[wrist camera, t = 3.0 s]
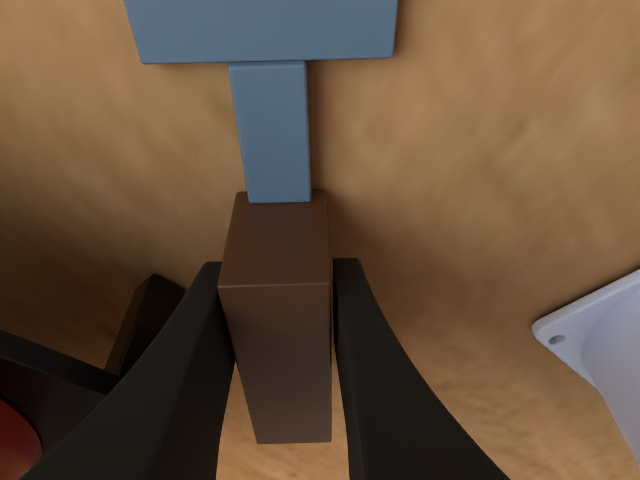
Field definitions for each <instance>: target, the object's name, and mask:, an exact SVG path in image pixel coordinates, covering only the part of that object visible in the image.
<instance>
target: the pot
mask: <svg viewBox="0 0 640 480" xmlns="http://www.w3.org/2000/svg"><path fill="white" fill-rule="evenodd" d="M184 293H185V290H184V289H183V288H181V287H179V286H177V285H175V284H173V283H172V282H170V281H168V280H166V279H164V278H162V277H160V276H158V275H156V274H152V275H151V276H150V277H149V278H148V279H147V280H146V281H144V282H143V283H142V284H141V285H140V286H139V287H138V288H137V289H136V290H135V291H134V294H133V297H132V299H131V302H130V304H129V307H128V309H127V312H126V314H125V317H124V320H123V322H122V325H121V327H120V330H119V332H118V335H117V338H116V340H115V343H114V345H113V348H112V350H111V353H110V356H109V358H108V361H107V363H106V366H105V368H104V370H103V369H101V368H98V367H95V366H93V365H90V364H88V363H85V362H83V361H80V360H78V359H75V358H72V357H70V356H67V355H65V354H62V353H60V352H57V351H54V350H52V349H49V348H47V347H44V346H42V345H39V344H36V343H34V342H31V341H29V340H26V339H24V338H21V337H18V336H16V335H13V334H11V333H8V332H6V331H3V330H1V329H0V480H18V479H19V478H21V477H22V476H23V475H24V474H25V473H26V472H28V471H29V470H30V469H31V468H32V467H33V466H34V465H35V464H37V463H38V462H39V461H40V460H41V459H42V458H43V457H44V456H45V455H47V454H48V453H49V452H50V451H51V450H52V449H53V448H54V447H55V446H56V445H58V444H59V443H60V442H61V441H62V440H63V439H64V438H65V437H66V436H67V435H69V434H70V433H71V432H72V431H73V430H74V429H75V428H76V427H77V426H78V425H79V424H80V423H81V422H82V421H83V420H84V419H85V418H86V417H87V416H88V415H89V414H90V413H91V412H92V411H93V410H94V409H95V408H96V407H97V405H98V404H99V403H100V402H101V401H102V400H103V399H104V398H105V397H106V396H107V395H108V394H109V393H110V392H111V391H112V390H113V388H114V387H115V386H116V385H117V384H118V383H119V382H120V381H121V380H122V378H123V377H124V376H125V375H126V374H127V373H128V371H129V370H130V369H131V368H132V367H133V365H134V364H135V363H136V362H137V361H138V359H139V358H140V357H141V355H142V354H143V353H144V352H145V350H146V349H147V348H148V346H149V345H150V344H151V342H152V341H153V340H154V339H155V337H156V336H157V335H158V333H159V332H160V331H161V329H162V328H163V326H164V325H165V324H166V322H167V321H168V319H169V318H170V316H171V315H172V313H173V312H174V311H175V309H176V308H177V306H178V305H179V303H180V302H181V300H182V299H183V297H184Z"/></svg>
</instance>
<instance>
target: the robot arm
mask: <svg viewBox="0 0 640 480" xmlns="http://www.w3.org/2000/svg"><path fill="white" fill-rule="evenodd" d="M221 265H222V262H206V263H205V264H204V265H203V266H202V268H201V269H200V271H199V273H198V274H197V276H196V278H195V279H194V281H193V283H192V284H191V286H190V288H189V289H188V291H187V292H186V294H185V295H184V297H183V299H182V300H181V302H180V303H179V305H178V306H177V308H176V309H175V311H174V312H173V313H172V315H171V316H170V318H169V319H168V321H167V322H166V324H165V325H164V326H163V328H162V329H161V331H160V332H159V333H158V335H157V336H156V337H155V339H154V340H153V341H152V342H151V344H150V345H149V346H148V348H147V349H146V350H145V352H144V353H143V354H142V355H141V357H140V358H139V359H138V361H137V362H136V363H135V364H134V365H133V367H132V368H131V369H130V370H129V371H128V373H127V374H126V375H125V376H124V377H123V378H122V380H121V381H120V382H119V383H118V384H117V385H116V386H115V387H114V388H113V390H112V391H111V392H110V393H109V394H108V395H107V396H106V397H105V398H104V399H103V400H102V401H101V402H100V403H99V404H98V405H97V407H96V408H95V409H94V410H93V411H92V412H91V413H90V414H89V415H88V416H87V417H86V418H85V419H84V420H83V421H82V422H81V423H80V424H79V425H78V426H77V427H76V428H75V429H74V430H73V431H72V432H71V433H70V434H69V435H67V436H66V437H65V438H64V439H63V440H62V441H61V442H60V443H59V444H58V445H56V446H55V447H54V448H53V449H52V450H51V451H50V452H49V453H48V454H47V455H45V456H44V457H43V458H42V459H41V460H40V461H39V462H38V463H37V464H35V465H34V466H33V467H32V468H31V469H30V470H29V471H28V472H26V473H25V474H24V475H23V476H22V477H21V478H19V479H18V480H216V471H217V461H218V451H219V443H220V436H221V430H222V424H223V419H224V414H225V409H226V404H227V399H228V394H229V389H230V384H231V379H232V374H233V369H234V364H235V355H234V351H233V347H232V343H231V339H230V335H229V331H228V327H227V323H226V320H225V316H224V312H223V308H222V304H221V300H220V296H219V292H218V288H217V285H218V280H219V275H220V270H221ZM333 327H334V346H335V353H336V360H337V367H338V374H339V381H340V388H341V395H342V402H343V409H344V416H345V423H346V432H347V442H348V460H349V478H350V480H510V479H509V478H508V477H507V476H506V475H505V474H504V473H503V472H502V470H501V469H500V468H499V467H498V466H497V465H496V464H495V463H494V462H493V461H492V460H491V459H490V458H489V457H488V456H487V455H486V454H485V452H484V451H483V450H482V449H481V448H480V447H479V446H478V445H477V444H476V443H475V442H474V440H473V439H472V438H471V437H470V436H469V435H468V433H467V432H466V431H465V430H464V429H463V428H462V426H461V425H460V424H459V423H458V422H457V421H456V419H455V418H454V417H453V416H452V415H451V414H450V412H449V411H448V410H447V409H446V408H445V406H444V405H443V404H442V403H441V401H440V400H439V399H438V397H437V396H436V395H435V393H434V392H433V391H432V390H431V388H430V387H429V386H428V384H427V383H426V381H425V380H424V379H423V377H422V376H421V375H420V373H419V372H418V370H417V369H416V367H415V366H414V365H413V363H412V362H411V360H410V358H409V357H408V355H407V354H406V352H405V351H404V349H403V348H402V346H401V344H400V343H399V341H398V340H397V338H396V336H395V335H394V333H393V331H392V329H391V328H390V326H389V324H388V322H387V320H386V318H385V317H384V315H383V313H382V311H381V309H380V307H379V305H378V303H377V301H376V299H375V297H374V295H373V293H372V291H371V289H370V286H369V284H368V282H367V279H366V277H365V274H364V271H363V268H362V265H361V262H360V260H358V259H357V258H333ZM531 330H532V332H533V334H534V337H535V338H536V340H538V341H539V342H540V343H541V344H543V345H544V346H545V347H546V348H547V349H549V350H550V351H551V352H552V353H553V354H555V355H556V356H557V357H558V358H560V359H561V360H562V361H563V362H564V363H566V364H567V365H568V366H569V367H570V368H572V369H573V370H574V371H575V372H576V373H578V374H579V375H580V376H581V377H583V378H584V379H585V380H586V381H587V382H589V383H590V384H591V385H592V386H593V387H595V388H596V389H597V390H598V391H599V393H600V394H601V396H602V398H603V400H604V402H605V404H606V406H607V407H608V409H609V411H610V413H611V415H612V417H613V419H614V421H615V422H616V424H617V426H618V428H619V430H620V432H621V434H622V436H623V437H624V439H625V441H626V443H627V445H628V447H629V449H630V451H631V452H632V454H633V456H634V458H635V460H636V462H637V464H638V465H639V467H640V269H638V270H636V271H634V272H632V273H630V274H628V275H626V276H624V277H622V278H620V279H618V280H616V281H614V282H612V283H610V284H608V285H606V286H604V287H602V288H600V289H598V290H596V291H594V292H592V293H590V294H588V295H586V296H584V297H582V298H580V299H578V300H576V301H574V302H572V303H571V304H569V305H567V306H565V307H563V308H561V309H559V310H557V311H555V312H553V313H551V314H549V315H547V316H545V317H543V318H541V319H539V320H537V321H536V322H535V323H534V324H533V325H532V328H531Z"/></svg>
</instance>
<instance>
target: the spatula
mask: <svg viewBox="0 0 640 480" xmlns="http://www.w3.org/2000/svg"><path fill="white" fill-rule="evenodd" d="M124 4H125V7H126V11H127V14H128V18H129V21H130V25H131V28H132V32H133V35H134V39H135V42H136V46H137V50H138V53H139V57H140V60H141V63H142V64H175V63H214V62H230V65H229V68H228V70H229V77H230V83H231V90H232V96H233V103H234V109H235V116H236V122H237V128H238V135H239V141H240V148H241V154H242V161H243V167H244V174H245V180H246V186H247V192H238V193H236V197H235V202H234V207H233V212H232V217H231V222H230V227H229V231H228V236H227V241H226V246H225V251H224V256H223V261H222V265H221V270H220V275H219V280H218V285H217V288H218V292H219V296H220V300H221V304H222V308H223V312H224V316H225V320H226V323H227V327H228V331H229V335H230V339H231V343H232V347H233V351H234V355H235V359H236V363H237V367H238V371H239V374H240V378H241V382H242V386H243V390H244V394H245V398H246V402H247V406H248V410H249V414H250V418H251V422H252V425H253V429H254V433H255V437H256V441H257V444H283V443H318V442H331V440H332V358H331V266H330V248H329V230H328V211H327V193H326V191H325V190H312V191H311V169H310V142H309V115H308V89H307V62H306V60H331V59H370V58H392V57H393V54H394V43H395V32H396V21H397V10H398V0H124Z"/></svg>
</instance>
